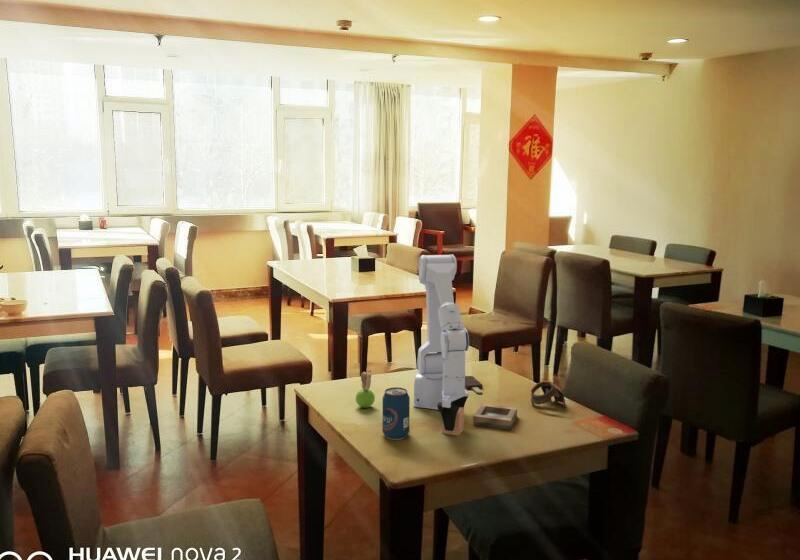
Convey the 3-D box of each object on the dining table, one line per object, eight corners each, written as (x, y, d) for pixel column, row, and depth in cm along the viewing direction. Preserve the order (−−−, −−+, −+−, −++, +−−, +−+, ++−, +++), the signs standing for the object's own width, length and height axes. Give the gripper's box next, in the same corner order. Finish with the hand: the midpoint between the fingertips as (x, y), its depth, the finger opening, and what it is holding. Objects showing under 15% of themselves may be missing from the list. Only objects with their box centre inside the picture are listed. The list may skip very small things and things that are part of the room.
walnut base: (473, 424, 180) (473, 415, 180) (481, 412, 190) (481, 403, 189) (510, 429, 177) (510, 420, 177) (516, 416, 186) (517, 408, 186)
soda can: (376, 436, 173) (376, 391, 171) (394, 428, 178) (394, 384, 176) (397, 443, 168) (397, 397, 166) (414, 435, 173) (415, 390, 171)
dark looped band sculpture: (570, 413, 191) (559, 391, 188) (539, 424, 193) (528, 403, 190) (564, 389, 202) (553, 368, 199) (534, 400, 204) (523, 379, 201)
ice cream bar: (488, 394, 205) (471, 379, 220) (488, 389, 205) (471, 374, 220) (471, 396, 204) (456, 380, 219) (471, 390, 204) (456, 376, 218)
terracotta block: (442, 433, 175) (442, 411, 174) (446, 427, 179) (447, 405, 178) (459, 435, 173) (459, 413, 172) (463, 429, 178) (463, 407, 177)
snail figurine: (361, 412, 189) (360, 371, 187) (353, 405, 195) (352, 365, 193) (378, 410, 191) (378, 369, 189) (370, 402, 197) (370, 363, 195)
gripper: (461, 385, 166) (460, 437, 168) (475, 368, 179) (474, 417, 181) (434, 381, 168) (433, 433, 170) (450, 366, 181) (449, 413, 184)
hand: (453, 424), depth 176 cm, fingers open, 7 cm apart
